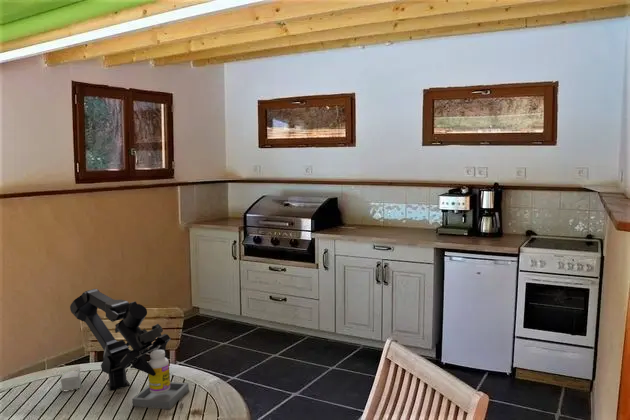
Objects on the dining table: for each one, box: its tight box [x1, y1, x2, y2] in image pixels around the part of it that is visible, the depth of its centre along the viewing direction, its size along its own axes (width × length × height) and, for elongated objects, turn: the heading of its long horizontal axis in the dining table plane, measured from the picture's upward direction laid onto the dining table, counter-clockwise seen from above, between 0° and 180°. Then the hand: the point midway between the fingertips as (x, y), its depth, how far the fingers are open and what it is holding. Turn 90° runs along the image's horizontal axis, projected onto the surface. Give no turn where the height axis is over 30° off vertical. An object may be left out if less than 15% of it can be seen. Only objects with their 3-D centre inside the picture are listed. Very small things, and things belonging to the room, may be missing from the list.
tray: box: [131, 381, 190, 410], centre depth 172 cm, size 13×13×2 cm
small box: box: [60, 369, 82, 392], centre depth 184 cm, size 6×6×5 cm
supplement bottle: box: [147, 350, 171, 394], centre depth 172 cm, size 7×7×13 cm
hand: (162, 370), depth 171 cm, fingers closed on supplement bottle, 7 cm apart
